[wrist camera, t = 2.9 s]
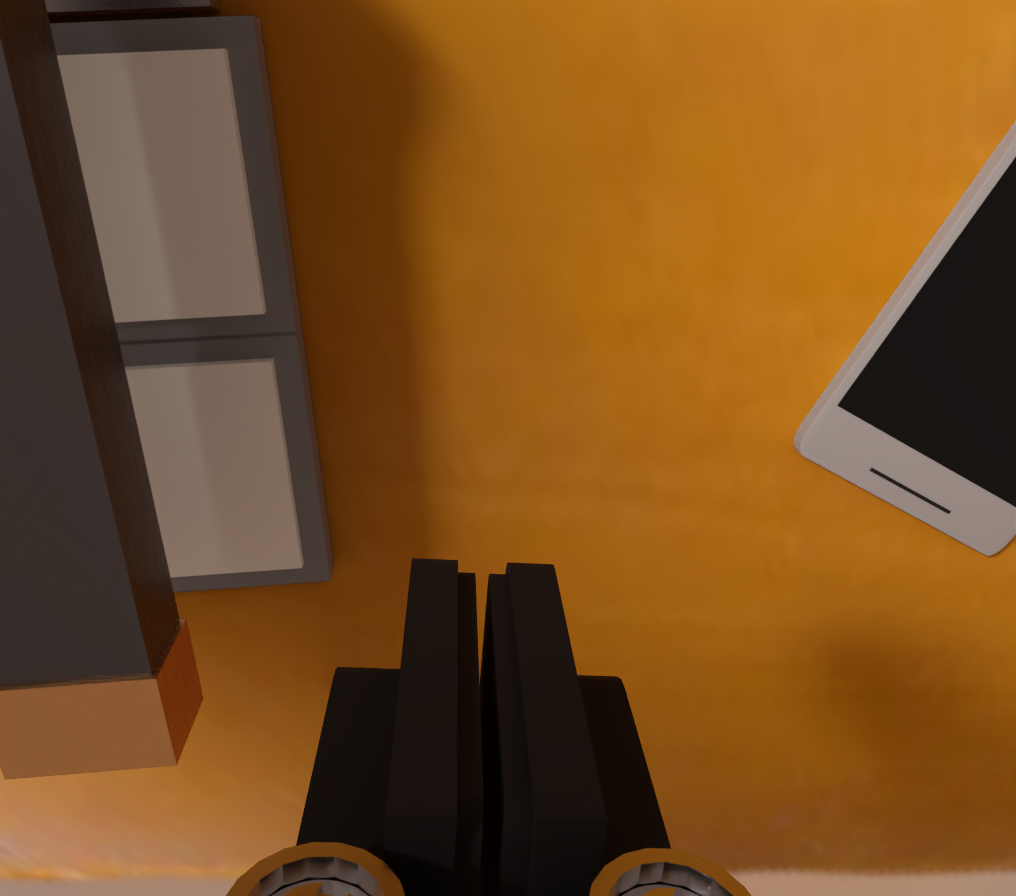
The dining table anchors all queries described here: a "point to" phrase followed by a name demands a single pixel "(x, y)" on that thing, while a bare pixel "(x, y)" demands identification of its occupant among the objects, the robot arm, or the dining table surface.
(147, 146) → the label tile
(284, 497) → the label tile
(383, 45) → the dining table surface
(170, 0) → the pivot post base
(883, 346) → the smartphone
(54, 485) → the swing arm
